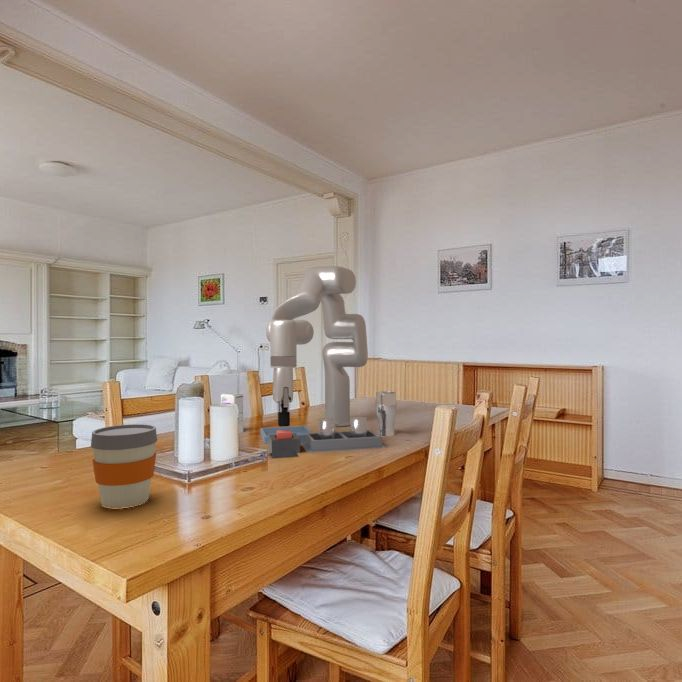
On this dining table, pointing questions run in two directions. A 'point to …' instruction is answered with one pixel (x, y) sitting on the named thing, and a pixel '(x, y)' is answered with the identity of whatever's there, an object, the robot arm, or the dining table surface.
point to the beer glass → (386, 412)
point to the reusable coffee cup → (124, 463)
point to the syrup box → (235, 399)
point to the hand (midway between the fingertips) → (283, 425)
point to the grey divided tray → (342, 442)
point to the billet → (326, 428)
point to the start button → (283, 434)
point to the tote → (294, 429)
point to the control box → (284, 446)
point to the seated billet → (358, 427)
